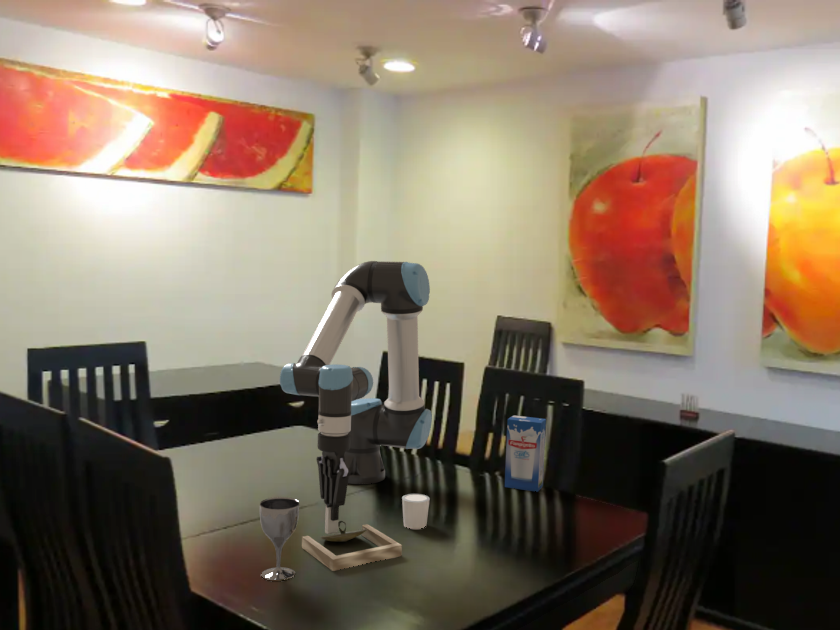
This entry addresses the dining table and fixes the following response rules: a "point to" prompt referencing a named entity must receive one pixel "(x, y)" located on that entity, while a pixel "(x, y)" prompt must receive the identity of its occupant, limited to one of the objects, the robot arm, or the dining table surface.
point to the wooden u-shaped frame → (333, 562)
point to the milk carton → (525, 453)
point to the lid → (343, 534)
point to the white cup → (415, 510)
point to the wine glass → (279, 530)
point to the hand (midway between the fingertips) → (331, 532)
